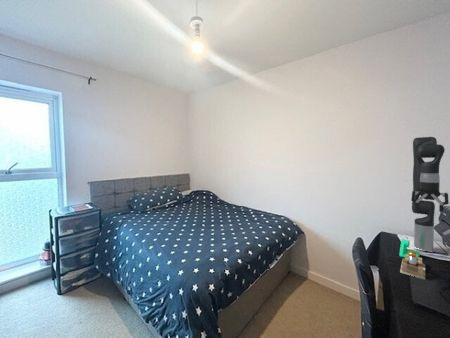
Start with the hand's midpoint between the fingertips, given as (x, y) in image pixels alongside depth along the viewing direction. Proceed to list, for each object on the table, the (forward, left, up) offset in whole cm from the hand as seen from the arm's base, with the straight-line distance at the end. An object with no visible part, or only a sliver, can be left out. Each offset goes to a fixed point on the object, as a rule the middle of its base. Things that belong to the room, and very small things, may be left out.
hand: (428, 210), depth 111 cm
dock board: (+7, -6, -33) cm, 34 cm away
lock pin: (+12, -6, -32) cm, 34 cm away
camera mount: (-11, -8, -33) cm, 36 cm away
